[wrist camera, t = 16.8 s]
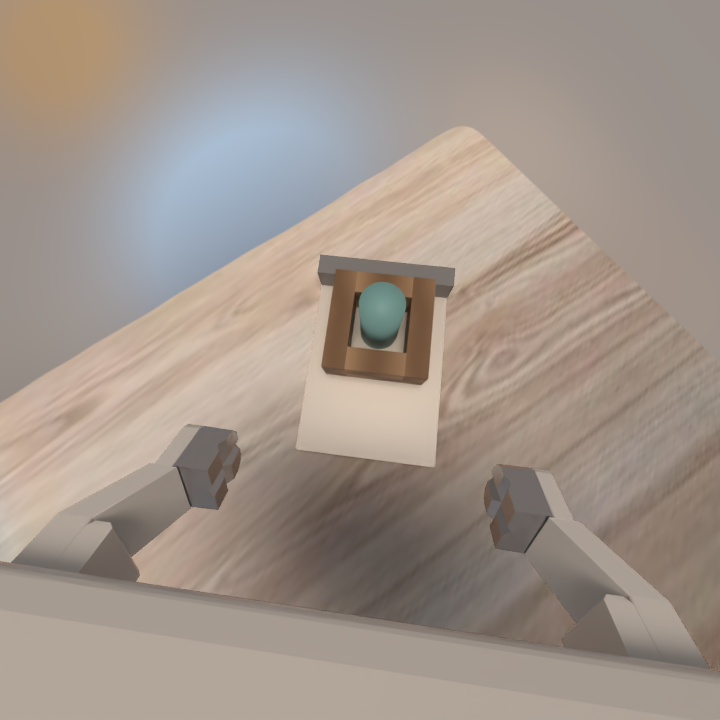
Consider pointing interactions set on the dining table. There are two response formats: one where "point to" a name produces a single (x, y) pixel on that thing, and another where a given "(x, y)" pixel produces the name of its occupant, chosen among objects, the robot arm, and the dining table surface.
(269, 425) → the dining table surface
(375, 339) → the teal rounded peg
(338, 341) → the socket block
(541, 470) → the robot arm
